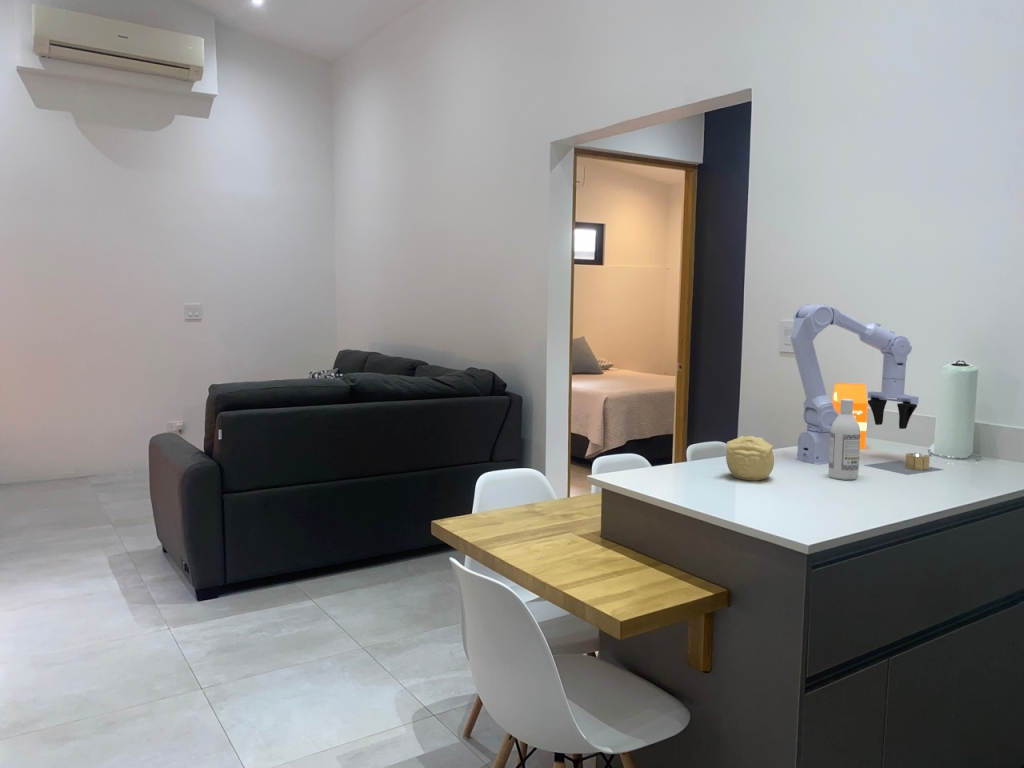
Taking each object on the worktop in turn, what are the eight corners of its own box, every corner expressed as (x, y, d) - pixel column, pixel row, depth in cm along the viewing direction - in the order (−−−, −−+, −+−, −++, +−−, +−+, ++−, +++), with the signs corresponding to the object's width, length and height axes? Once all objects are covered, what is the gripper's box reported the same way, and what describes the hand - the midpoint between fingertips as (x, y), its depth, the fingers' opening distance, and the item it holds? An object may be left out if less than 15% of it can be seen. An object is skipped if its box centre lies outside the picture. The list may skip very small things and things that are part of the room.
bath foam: (863, 478, 190) (867, 399, 188) (849, 481, 186) (854, 401, 184) (836, 473, 195) (840, 397, 194) (823, 476, 191) (826, 399, 189)
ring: (919, 471, 197) (920, 457, 197) (901, 467, 202) (901, 454, 201) (932, 469, 199) (933, 456, 199) (913, 465, 204) (914, 452, 204)
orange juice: (865, 450, 228) (869, 385, 226) (834, 449, 230) (837, 384, 228) (858, 445, 236) (862, 382, 234) (829, 444, 238) (832, 381, 236)
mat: (907, 476, 193) (907, 474, 193) (863, 466, 204) (863, 465, 204) (944, 471, 199) (944, 469, 199) (899, 461, 211) (899, 460, 211)
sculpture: (721, 479, 187) (722, 437, 186) (731, 470, 198) (732, 430, 196) (769, 485, 182) (771, 441, 181) (776, 475, 192) (778, 434, 191)
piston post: (917, 469, 199) (918, 454, 199) (910, 468, 201) (911, 453, 201) (923, 468, 200) (924, 454, 200) (915, 467, 202) (916, 452, 202)
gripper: (927, 380, 205) (923, 429, 206) (880, 375, 218) (877, 422, 219) (909, 381, 202) (906, 431, 203) (863, 376, 215) (861, 423, 216)
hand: (890, 426), depth 211 cm, fingers open, 7 cm apart
